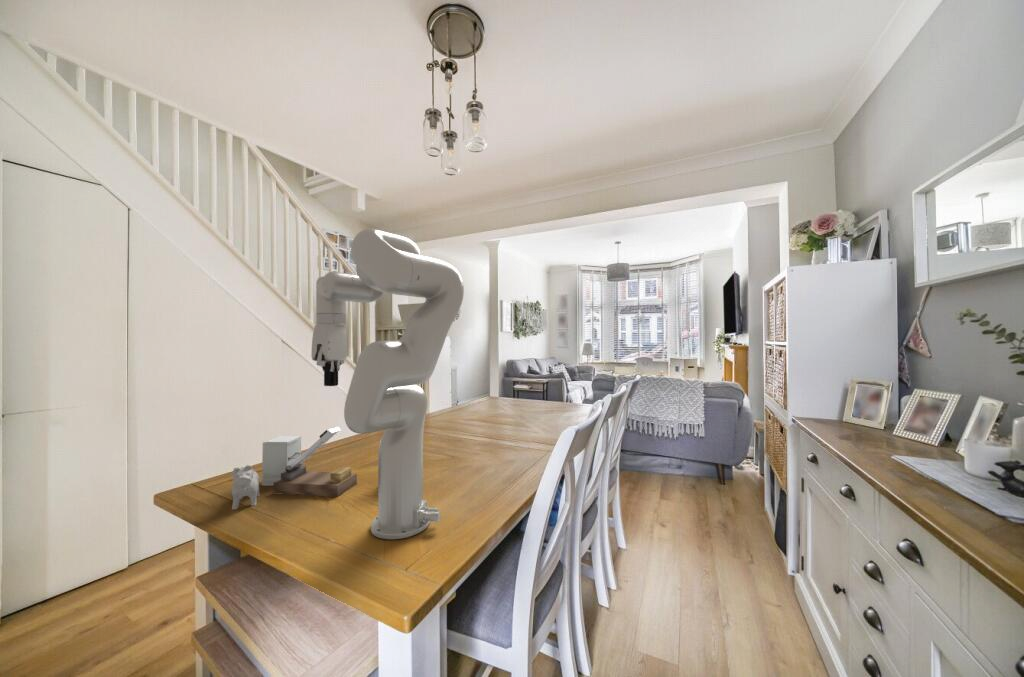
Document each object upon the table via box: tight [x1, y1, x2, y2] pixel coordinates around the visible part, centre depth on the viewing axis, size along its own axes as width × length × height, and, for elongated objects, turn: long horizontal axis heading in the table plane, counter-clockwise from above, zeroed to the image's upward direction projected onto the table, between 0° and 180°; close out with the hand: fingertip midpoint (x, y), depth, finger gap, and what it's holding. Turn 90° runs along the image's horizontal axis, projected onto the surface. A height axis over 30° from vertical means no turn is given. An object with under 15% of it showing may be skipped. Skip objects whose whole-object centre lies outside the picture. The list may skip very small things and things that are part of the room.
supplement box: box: [261, 435, 302, 487], centre depth 107 cm, size 7×7×13 cm
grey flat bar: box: [285, 426, 341, 472], centre depth 101 cm, size 17×5×2 cm
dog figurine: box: [230, 464, 260, 511], centre depth 91 cm, size 5×13×11 cm, turn 31°
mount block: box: [272, 465, 358, 498], centre depth 101 cm, size 19×9×5 cm, turn 83°
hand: (331, 385), depth 101 cm, fingers closed
